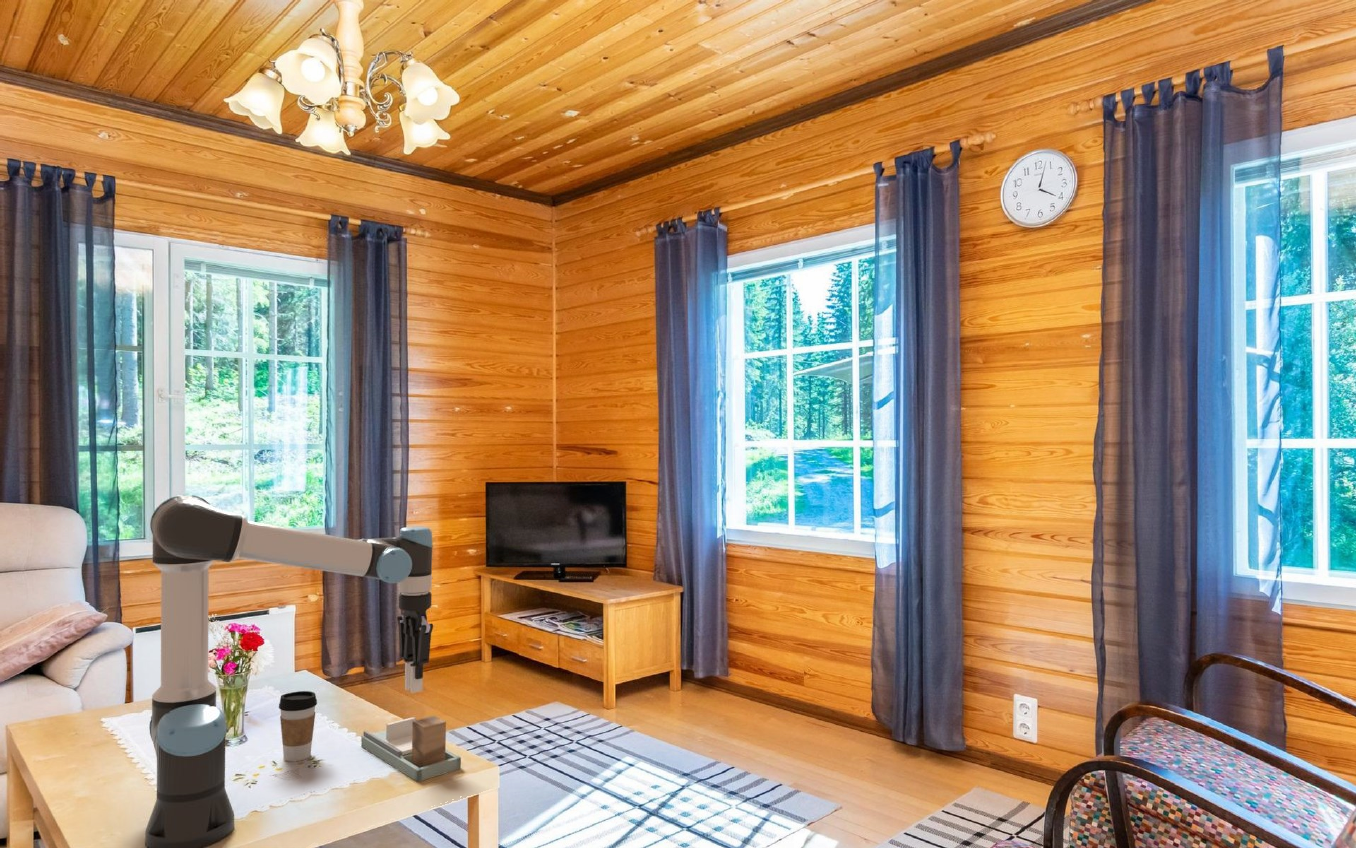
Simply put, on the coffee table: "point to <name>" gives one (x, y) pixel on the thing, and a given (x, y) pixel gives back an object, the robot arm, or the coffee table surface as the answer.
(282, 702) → the coffee cup
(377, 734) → the tray
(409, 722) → the white l-shaped bracket
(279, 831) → the coffee table surface
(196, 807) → the robot arm
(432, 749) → the block
